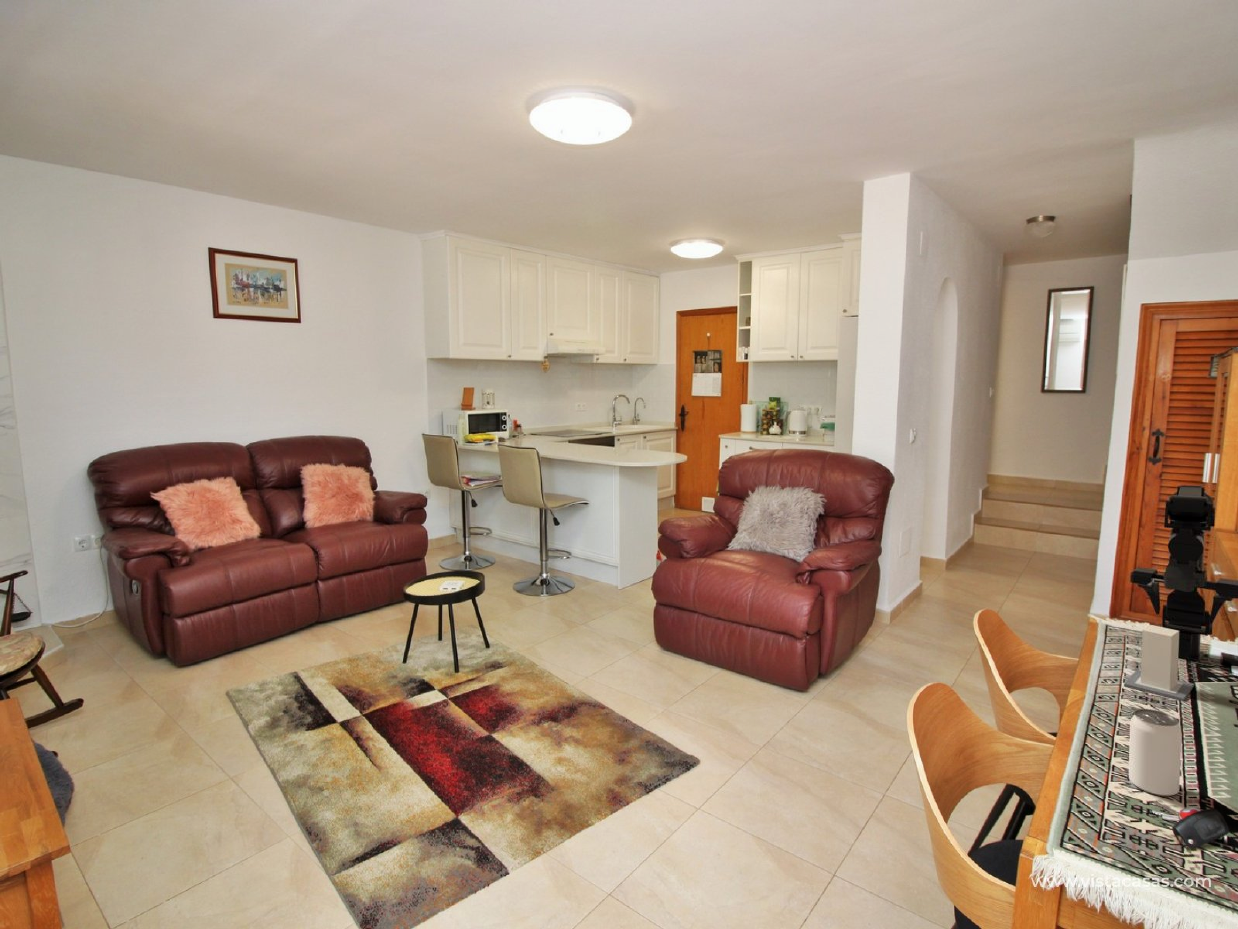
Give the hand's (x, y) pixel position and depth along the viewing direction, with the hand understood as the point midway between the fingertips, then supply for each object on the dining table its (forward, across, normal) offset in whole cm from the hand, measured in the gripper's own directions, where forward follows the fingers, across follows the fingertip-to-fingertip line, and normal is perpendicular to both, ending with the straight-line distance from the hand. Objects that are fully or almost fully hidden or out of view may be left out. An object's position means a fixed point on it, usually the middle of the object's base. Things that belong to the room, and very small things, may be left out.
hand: (1183, 619), depth 144 cm
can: (+13, +6, -56) cm, 58 cm away
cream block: (+12, -2, -11) cm, 17 cm away
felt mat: (+13, -2, -11) cm, 17 cm away
